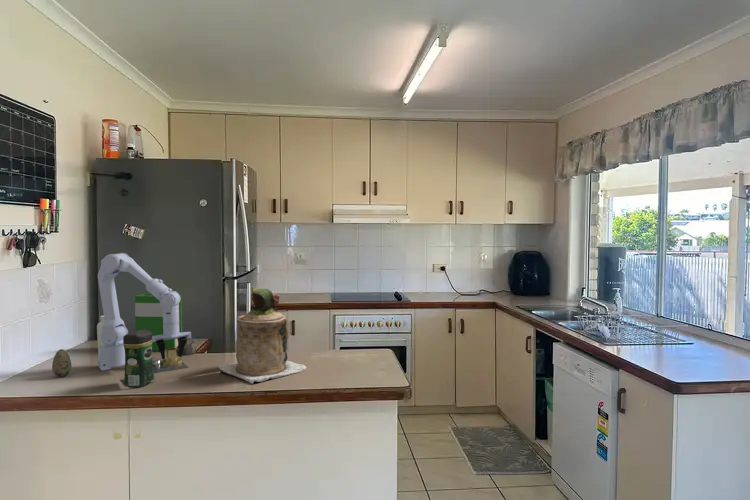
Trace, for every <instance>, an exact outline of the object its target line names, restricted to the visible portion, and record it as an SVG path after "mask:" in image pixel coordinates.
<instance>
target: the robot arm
mask: <svg viewBox="0 0 750 500" xmlns="http://www.w3.org/2000/svg"><path fill="white" fill-rule="evenodd" d="M120 272H123V273H124V272H125V273H129V274H131V275H132V276H134V277H135V278H136V279H137V280H139V281H140V282H142V283H143V285H145V289H146V291H147V292H149V294H152V295H153V296H155V297H156V298H157V299H158V300H160V304H161V306H162V307H163V334H161V335H156V336H152V338H153V342H156V344H157V346H158V348H159V350H160V351H159V353H160V356H161V360H164V359H166V353H165V343H164V341H163V340H170V339H178V358H182V352H183V349H184V346H185V344H186V342H187V337H192V332H191V331H182V332H179V307H178V304H179V303H180V300H181V301H182V297H181V298H180V295H179V294H180V293H179V292H178V291H175V290H173V289H172V288H169V287H168V286H167V285H166V284H165V283H164V280H162V279H159V278H153V277H152V276H150V275H149V274H148V272H146V271H145V270H144V269H143V268H142V267H141V266H140V265H139V264H137V262H136V261H135V260H134V259H133V258H132V257H130V256H129V255H128V253H126V252H120V253H109V254H107V255H105V257H104V258H102V259H101V260H100V267H99V270H98V273H97V279H98V281H97V282H98V287H99V292H100V293H99V294H100V300H101V307H102V311H103V315H104V319H105V321H104V323H103V325H102V334H101V340H102V342H103V343H104V345H103V346H99V347H98V346H97V359H98V360H97V363H98V365H97V366H98V368H99V370H100V371H110V370H113V368H114V367H120V366H123V365H124V366H125V349H124V346H123V337H124V336H125V335H126V334H129V329H128V328H127V327H126V324H125V321H124V320H123V319H122V318H121V315H120V314H121V313H120V308H119V302H118V295H117V289H116V283H115V278H116V276H117V275H118V274H119V273H120Z"/></svg>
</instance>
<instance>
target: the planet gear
mask: <svg viewBox="0 0 750 500" xmlns="http://www.w3.org/2000/svg"><path fill="white" fill-rule="evenodd" d="M161 361H162V365H163V366H171V365H175V366H176V365H180V364H182V362H183V359H182V357H179V355H178V349H177V348H168V349H165V359H161Z"/></svg>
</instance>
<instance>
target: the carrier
mask: <svg viewBox="0 0 750 500" xmlns="http://www.w3.org/2000/svg"><path fill="white" fill-rule="evenodd" d="M152 360H153V370H154V374H158V373H159V374H160V373H166V372H170V371H177V370H184V369H189V368H190V367H189V366H188V365H187V364H186V363H184V362H183V361H182V364H180V365H176V366H175V365H171V366H163V365H162V360H161V359H157V358H156V357H152Z"/></svg>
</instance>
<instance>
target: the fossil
mask: <svg viewBox="0 0 750 500" xmlns="http://www.w3.org/2000/svg"><path fill="white" fill-rule="evenodd" d="M186 338H187V342H186V344H185V346H184V349H183V352H182V356H193V355H196V351H197V345H196V342H195V341H194V340H193V338H192V336H191V337H186ZM176 348H177V349H178V346H177V347H176Z"/></svg>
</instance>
